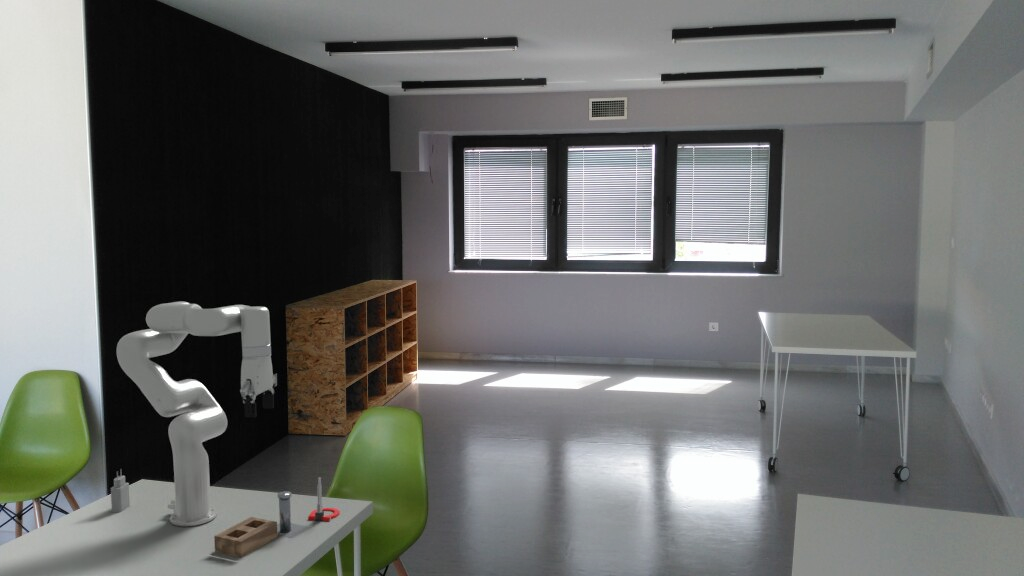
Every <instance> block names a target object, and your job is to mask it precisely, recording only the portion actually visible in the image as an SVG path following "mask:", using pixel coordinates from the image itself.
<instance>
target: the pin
mask: <svg viewBox="0 0 1024 576" xmlns="http://www.w3.org/2000/svg"><path fill="white" fill-rule="evenodd" d="M291 497H292V492H291V491H287V490H285V491H281V492H278V493H277V499H278V507H279V508H278V509H279V510H278V512H279V513H278V514H279V523H280V532H281V533H288V532H290V531H291V523H292V522H291V521H292V520H291V519H292V518H291V515H292V514H291Z"/></svg>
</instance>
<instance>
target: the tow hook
mask: <svg viewBox="0 0 1024 576" xmlns="http://www.w3.org/2000/svg"><path fill="white" fill-rule="evenodd" d="M317 482H318V483H317V503H316V509H314V510H312V511H311V512H310V514H308V516H307V520H308V521H317V522H331V520H332V519H334V518H337V517H338V516H339V515H340V509H337V508H335V507H334V508H333V507H323V503H322V502H323V501H322V500H323V499H322V496H323V495H322V491H323V490H322V488H323V487H322V486H323V485H322V477H318V478H317ZM328 511H329V512H333V513H331V514H329V515H328V514H327V515H325V512H328Z"/></svg>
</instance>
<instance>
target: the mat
mask: <svg viewBox="0 0 1024 576" xmlns="http://www.w3.org/2000/svg"><path fill="white" fill-rule="evenodd" d="M311 528H312V527H311V526H307V525H303V524H298V523H293V522H291V531H290V532H288V533H281V532H280V522H279V523H277V536H282V537H284V538H285V537H287V538H290V539H293V538H296V537H297V536H298V535H300V534H302V533H304V532H306V531H307V530H308V529H311Z"/></svg>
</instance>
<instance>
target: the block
mask: <svg viewBox="0 0 1024 576" xmlns="http://www.w3.org/2000/svg"><path fill="white" fill-rule="evenodd" d="M277 524H278V522H277V521H274V520H269V519H266V518H265V519H264V518H260V517H259V518H258V517H254V516H250V517H248V518H246V519H244V520H242V521H240V522H238V523H237V524H234V525H233V526H231V527H229V528H227V529H225V530H223V531H221V532H219V533H217V534H215V535H214V551H215V552H216V553H220V554H224V555H225V554H226V555H229V556H234V557H237V558H243V557H244V556H245V557H246V556H247V555H248V554H250V553H251V552H253V551H255V550H257V549H259V548H261V547H262V546H264V545H265V544H267V543H269V542H271V541H272V540H275V539H277V537H278V535H277Z"/></svg>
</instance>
